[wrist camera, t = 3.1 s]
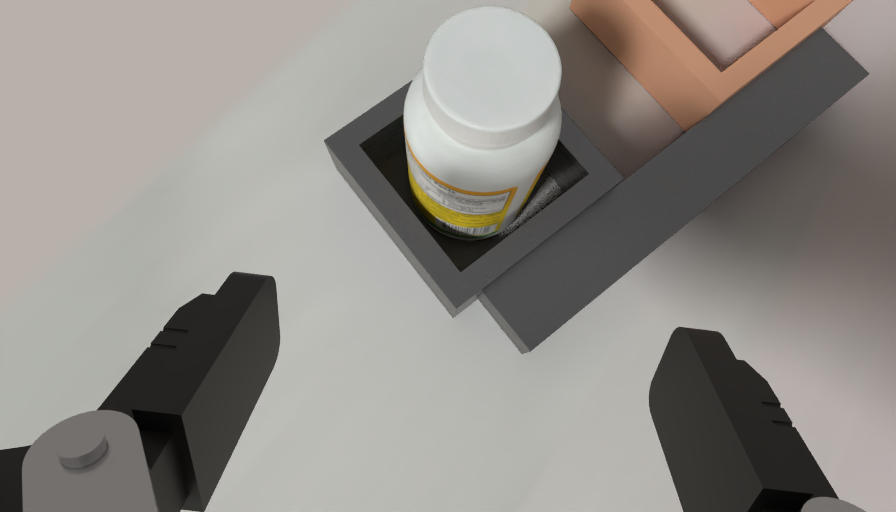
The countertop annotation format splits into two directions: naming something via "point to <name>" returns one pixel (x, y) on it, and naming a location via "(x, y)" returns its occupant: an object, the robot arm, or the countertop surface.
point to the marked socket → (695, 50)
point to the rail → (595, 194)
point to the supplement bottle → (481, 120)
